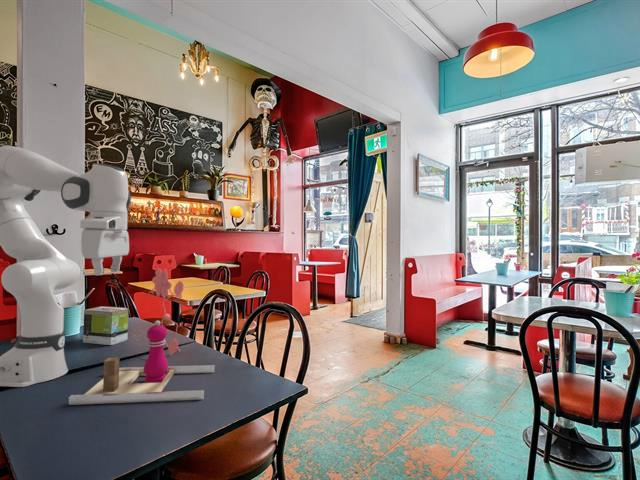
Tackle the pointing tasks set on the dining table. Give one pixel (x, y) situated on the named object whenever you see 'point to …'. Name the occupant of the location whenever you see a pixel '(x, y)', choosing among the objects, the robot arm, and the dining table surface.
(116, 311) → the tea box
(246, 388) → the dining table surface
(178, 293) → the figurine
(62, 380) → the dining table surface
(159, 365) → the pepper mill
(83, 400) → the runner track
